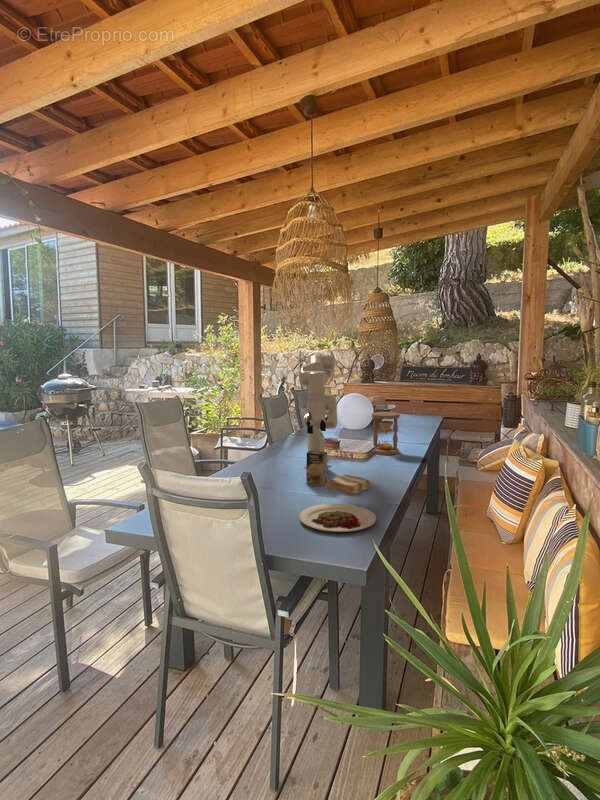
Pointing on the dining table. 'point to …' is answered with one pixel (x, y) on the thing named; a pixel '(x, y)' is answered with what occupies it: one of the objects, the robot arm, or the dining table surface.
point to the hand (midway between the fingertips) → (316, 432)
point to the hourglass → (385, 425)
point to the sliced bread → (348, 484)
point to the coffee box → (316, 468)
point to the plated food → (337, 517)
